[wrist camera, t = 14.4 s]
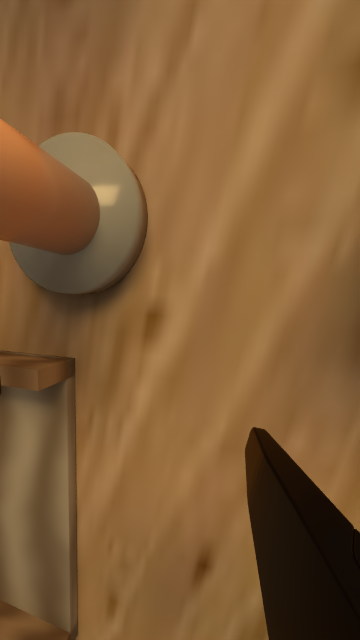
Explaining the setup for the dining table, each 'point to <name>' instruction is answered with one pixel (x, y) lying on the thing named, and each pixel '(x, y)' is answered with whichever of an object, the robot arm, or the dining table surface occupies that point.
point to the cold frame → (37, 498)
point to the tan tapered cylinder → (43, 198)
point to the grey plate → (114, 225)
